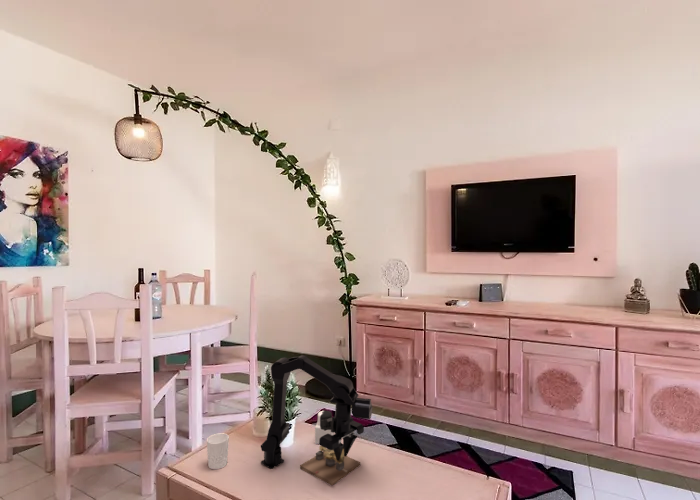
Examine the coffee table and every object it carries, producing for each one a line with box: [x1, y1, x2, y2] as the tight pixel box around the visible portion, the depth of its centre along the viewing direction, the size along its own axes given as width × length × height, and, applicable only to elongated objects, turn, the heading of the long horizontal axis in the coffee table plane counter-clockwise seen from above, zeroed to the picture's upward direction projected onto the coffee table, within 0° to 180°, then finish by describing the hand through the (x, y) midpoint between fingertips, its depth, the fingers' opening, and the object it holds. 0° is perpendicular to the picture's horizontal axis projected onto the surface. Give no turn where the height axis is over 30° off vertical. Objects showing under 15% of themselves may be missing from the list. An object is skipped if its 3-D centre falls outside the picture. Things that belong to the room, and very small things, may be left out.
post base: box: [299, 450, 361, 487], centre depth 141 cm, size 16×16×4 cm
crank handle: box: [318, 445, 344, 464], centre depth 141 cm, size 4×14×6 cm, turn 38°
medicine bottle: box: [314, 410, 335, 445], centre depth 161 cm, size 7×7×12 cm
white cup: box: [206, 432, 230, 470], centre depth 143 cm, size 8×8×10 cm
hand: (341, 458), depth 137 cm, fingers open, 4 cm apart
